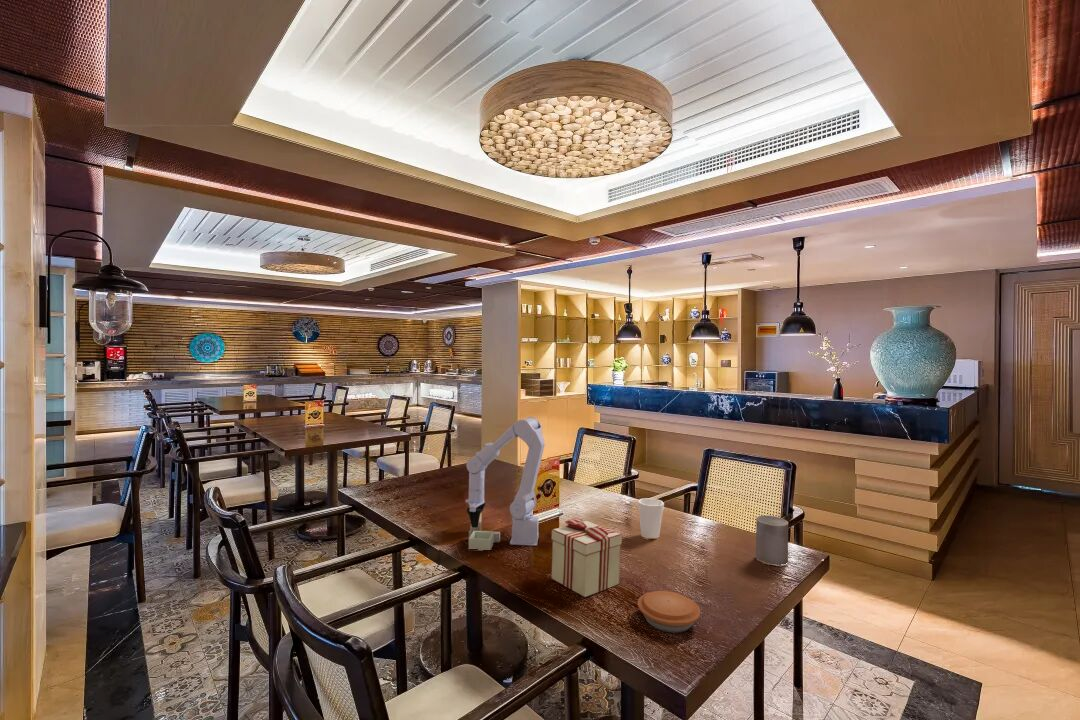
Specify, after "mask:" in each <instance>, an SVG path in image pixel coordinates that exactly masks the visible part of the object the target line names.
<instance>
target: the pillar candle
mask: <svg viewBox="0 0 1080 720" xmlns="http://www.w3.org/2000/svg"><path fill="white" fill-rule="evenodd" d="M755 520H756V523H755V525H756V527H755V537H756V538H755V558H756V557H757V558H758V559H759V560H761V561H764V562H766V563H770V564H777V565H778V564H779V565H781V564H786V563H787V562H788V563H789V522H788V521H787V520H786V519H784V518H782V517H780V516H774V515H759V516H757V517H756V519H755Z"/></svg>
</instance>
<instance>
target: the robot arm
mask: <svg viewBox="0 0 1080 720" xmlns="http://www.w3.org/2000/svg"><path fill="white" fill-rule="evenodd" d="M542 429H543V425H542V424H541V422H540V421H539V420H538V419H537V418H536V417H533V416H528V417H527V418H524V419H518V420H517V421H516V422H515V423H513V424H511V425H510V426H509V427H508V428H507V430H506V431H504V432H503V433H502V434H501V435H500V436H499V438H497V439H496V440H495V441H494V442H488V443H485V444H484V445H483V447H482V448H481V450H479V451H477V452H475V454H474V455H475V456H472V457H469V458H468V460H467V462H466V465H465V466H466V469H467V471H468V472H469V473H468V498H467V499H465V503H467V504H468V505H469V507H466V512H467V514H468V516H469V521H470V524H471V526H472V527H474V528H477V527H478V523H479V517H480V514H481V511H482V512H484V508H485V507H486V502H485V477H486V476H485V475H486V469H487V468H488V465H490V464H491V463H492V462H493V461H494V460H495V459H496V458H497V457H499V455H500V452H501V451H500V450H501V449H502V448H504V447H505V446H506V445H507V444H508V443H509V442H511V441H512V440H513V439H514V438H519V439H521V440H522V441H523V442H524V443H525V444H526V445H527V447H528V450H527V455H526V459H525V462H524V463H525V464H524V467H523V470H522V476H521V479H520V480H521V481H520V485H519V489H518V491H517V493H516V494H515V496H514V499H513V501H512V503H510V505H509V512H510V514H511V516H512V525H511V526H512V528H511V531H512V532H511V539H510V541H509V545H514V546H515V545H517V546H535V547H536V546H538V540H539V538H540V537H539V535H540V534H539V533H540V532H539V517H538V516H534V514H533V511H534V509H535V508H536V504H537V503H536V493H535V487H536V484H537V483H536V482H537V479H538V474H539V471H540V467H541V463H542V458H543V454H544V450H545V445H546V443H545V438H544V436H543V431H542ZM482 515H483V513H482V514H481V517H482Z"/></svg>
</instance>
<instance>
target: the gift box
mask: <svg viewBox="0 0 1080 720" xmlns="http://www.w3.org/2000/svg"><path fill="white" fill-rule="evenodd" d="M564 522H565V524H567V525H564V526H560V527H558V528H552V529H551V541H552V556H551V580H553V581H555V582H556V583H559V584H561V585H562V586H563V587H566V588H567V589H569V590H571V591H573V592H574V593H576V594H578V595H580V596H582V597H584V598H586V597H589V596H592V595H594V594H596V593H599V592H602V591H605V590H607V589H610V588H611V587H615V586H617V585H619V584H620V558H621V556H620V555H621V545H622V542H623V541H622V539H623V538H622V537H623V535H622V533H620V532H619V531H617V530H613V529H611V528H609V527H604V526H601V525H599V524H597V523H593V522H591V521H588V520H585V521H583V519H582V518H581V519H580V518H577V517H576V518H575V517H574V518H570V519H568V520H566V521H564Z"/></svg>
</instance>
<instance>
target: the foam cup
mask: <svg viewBox="0 0 1080 720" xmlns="http://www.w3.org/2000/svg"><path fill="white" fill-rule="evenodd" d="M637 509H638V516H639V524H640V525H639V526H640V536H641V537H642V536H643V537H646V538H658V537H659V538H660V534H661V533H660V532H661V527H662V520H663V519H662V518H663V512H664V510H665V502H663V500H660V499H658V498H650V497H649V498H648V497H646V498H640V499H638V501H637ZM643 537H642V538H643Z"/></svg>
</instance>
